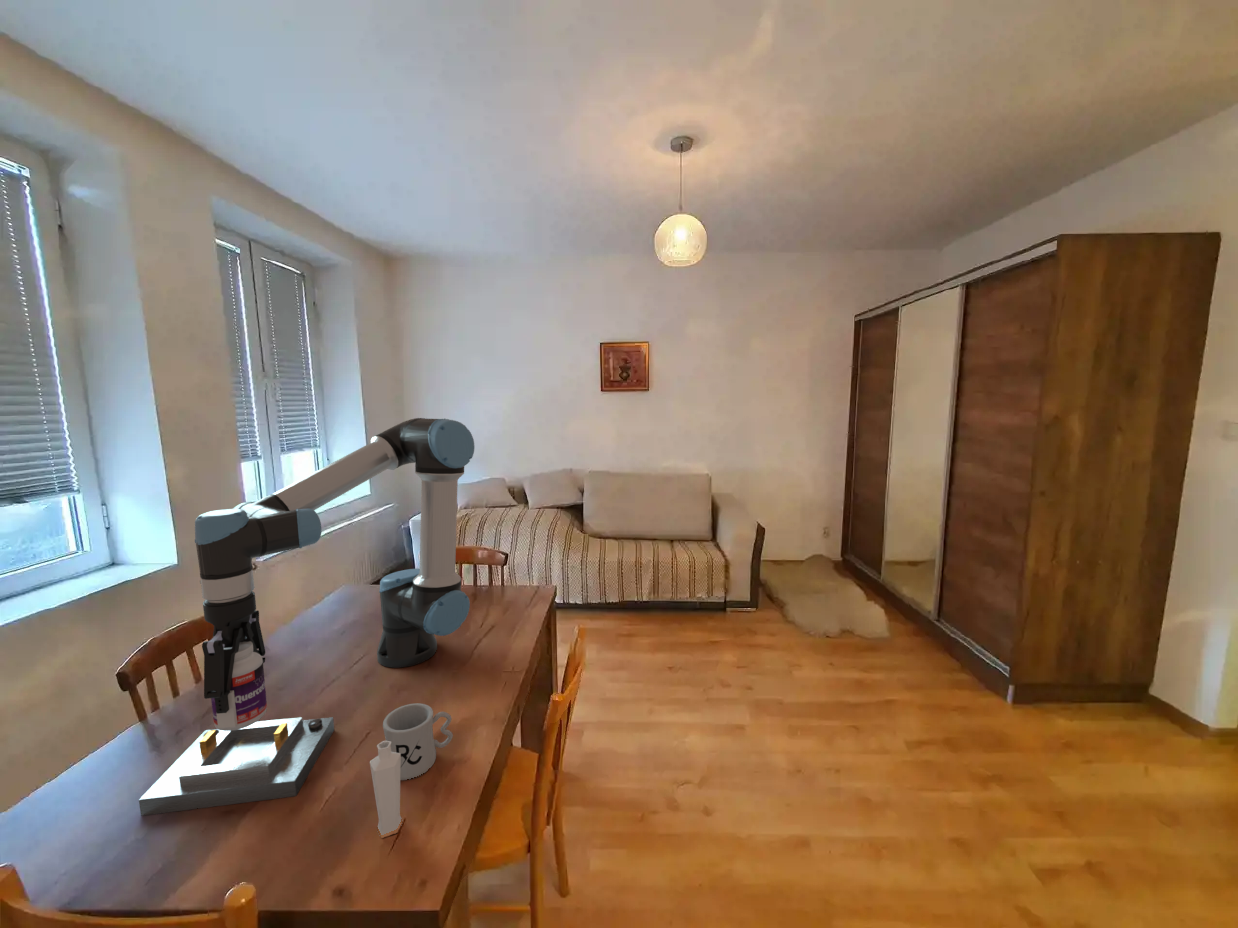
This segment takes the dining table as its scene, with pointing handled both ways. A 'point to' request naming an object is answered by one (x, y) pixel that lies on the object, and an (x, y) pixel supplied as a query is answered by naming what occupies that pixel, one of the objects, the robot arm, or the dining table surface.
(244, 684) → the pill bottle
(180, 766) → the grey clamping fixture
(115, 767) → the dining table surface
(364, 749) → the dining table surface
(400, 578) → the robot arm
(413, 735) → the mug
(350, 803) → the dining table surface
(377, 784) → the perfume bottle
